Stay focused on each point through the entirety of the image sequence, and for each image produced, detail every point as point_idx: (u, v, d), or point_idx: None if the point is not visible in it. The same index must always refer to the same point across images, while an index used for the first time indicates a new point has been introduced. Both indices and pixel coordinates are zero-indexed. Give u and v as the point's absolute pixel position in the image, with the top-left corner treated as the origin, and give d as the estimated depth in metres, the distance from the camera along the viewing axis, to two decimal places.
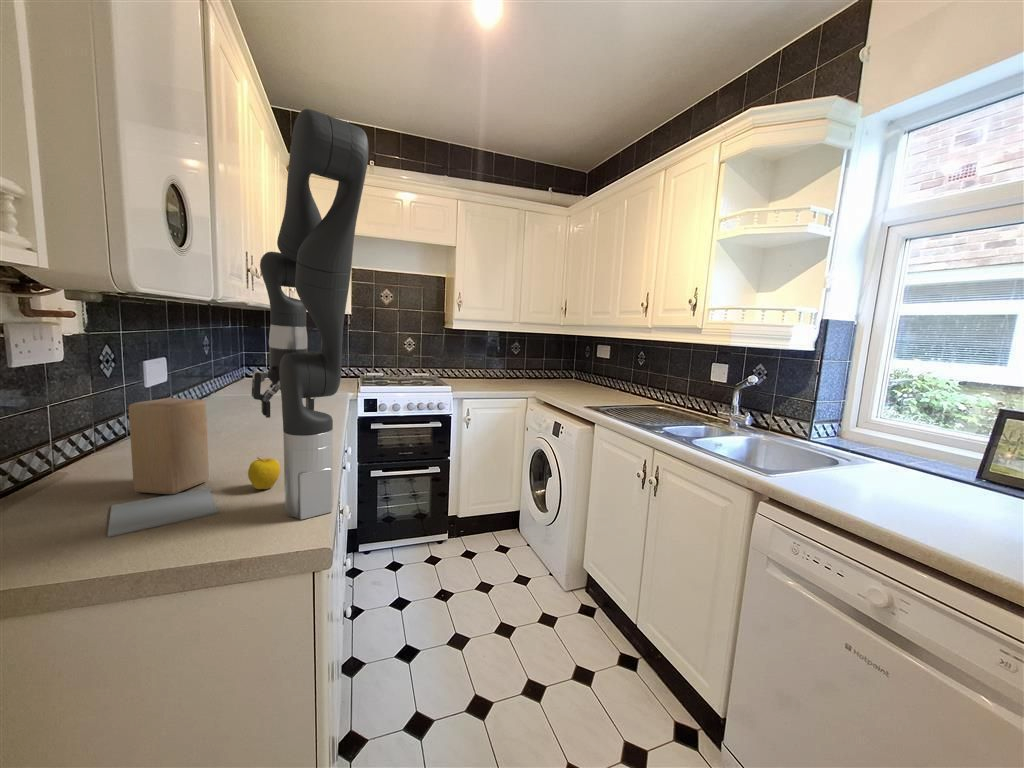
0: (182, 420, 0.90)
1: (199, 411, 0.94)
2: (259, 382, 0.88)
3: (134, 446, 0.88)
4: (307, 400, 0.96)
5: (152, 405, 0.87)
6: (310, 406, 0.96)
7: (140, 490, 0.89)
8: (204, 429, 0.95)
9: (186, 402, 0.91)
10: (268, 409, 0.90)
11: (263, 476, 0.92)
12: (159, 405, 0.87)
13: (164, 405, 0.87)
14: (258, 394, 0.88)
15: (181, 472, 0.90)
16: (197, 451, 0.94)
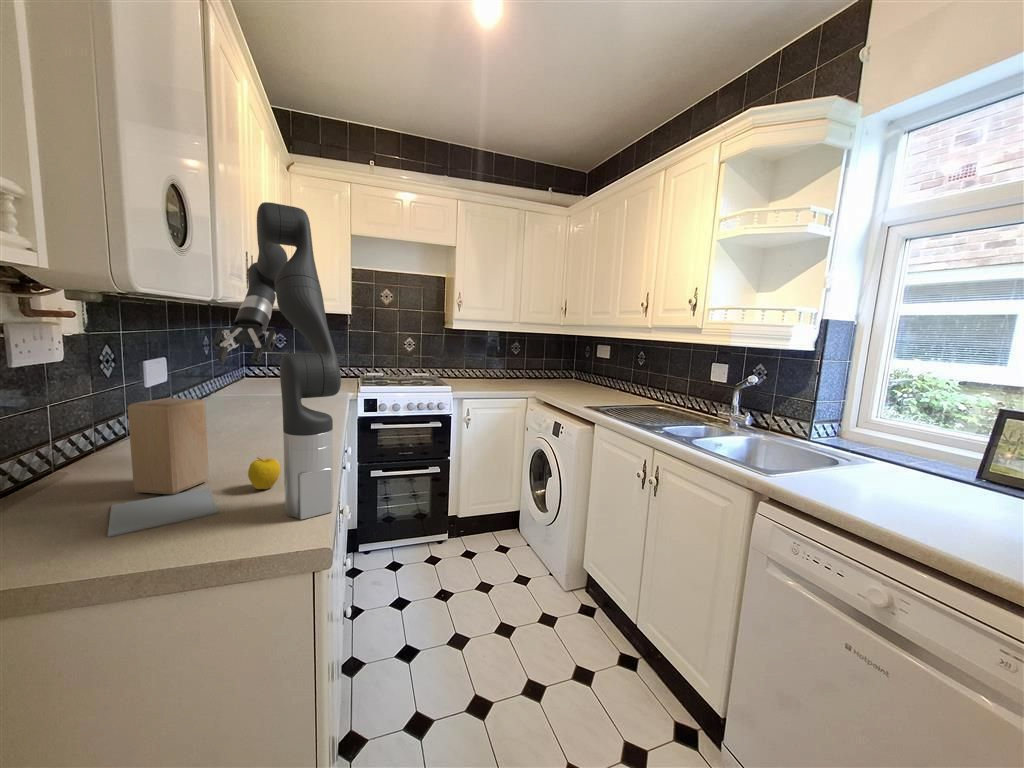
0: (181, 420, 0.90)
1: (199, 411, 0.94)
2: (220, 333, 1.06)
3: (134, 446, 0.88)
4: None
5: (151, 405, 0.87)
6: (254, 353, 1.05)
7: (140, 490, 0.89)
8: (203, 429, 0.95)
9: (185, 402, 0.91)
10: (221, 352, 1.03)
11: (263, 476, 0.92)
12: (158, 405, 0.87)
13: (163, 405, 0.87)
14: (217, 341, 1.05)
15: (181, 472, 0.90)
16: (197, 451, 0.94)
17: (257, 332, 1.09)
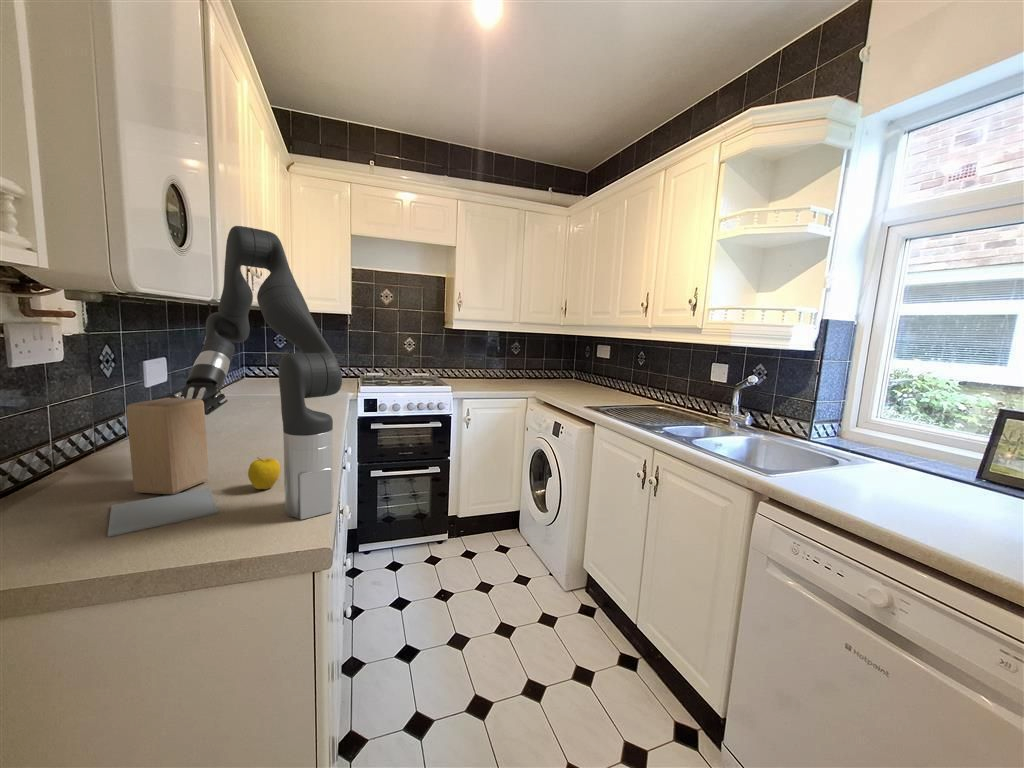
0: (180, 420, 0.89)
1: (197, 411, 0.94)
2: None
3: (133, 447, 0.88)
4: None
5: (150, 405, 0.87)
6: None
7: (140, 491, 0.89)
8: (202, 429, 0.95)
9: (184, 402, 0.91)
10: None
11: (263, 476, 0.92)
12: (157, 405, 0.87)
13: (162, 405, 0.87)
14: None
15: (181, 472, 0.90)
16: (197, 450, 0.94)
17: (209, 390, 1.04)
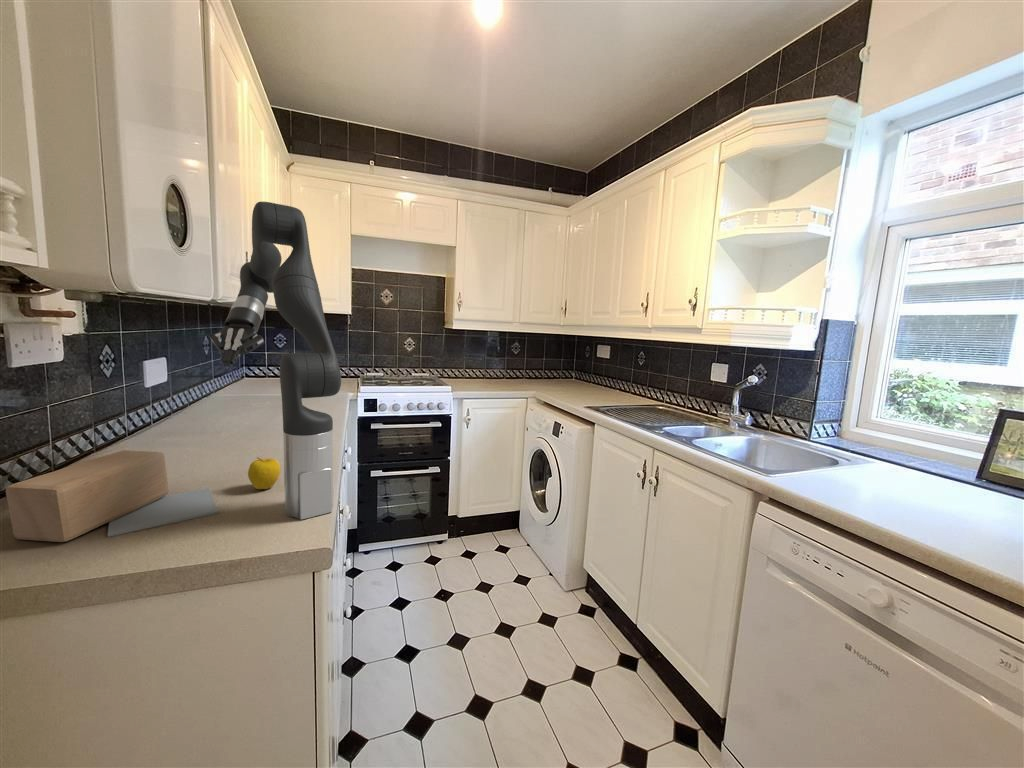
0: (86, 516, 0.72)
1: (75, 495, 0.70)
2: (215, 337, 1.04)
3: None
4: None
5: (43, 540, 0.69)
6: (230, 355, 1.02)
7: None
8: (102, 480, 0.74)
9: (57, 516, 0.68)
10: (226, 355, 1.02)
11: (263, 476, 0.92)
12: (51, 540, 0.69)
13: (57, 540, 0.69)
14: (221, 344, 1.04)
15: (149, 493, 0.83)
16: (129, 480, 0.79)
17: (247, 331, 1.07)
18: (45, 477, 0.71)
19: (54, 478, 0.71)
